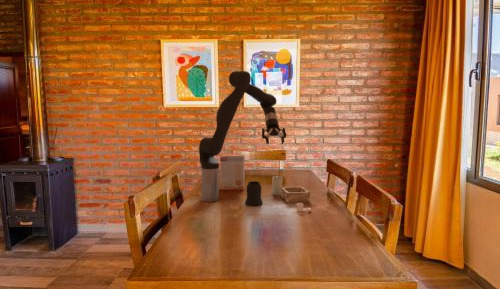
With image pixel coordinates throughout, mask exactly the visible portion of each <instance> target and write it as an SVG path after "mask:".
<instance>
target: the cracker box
mask: <svg viewBox="0 0 500 289" xmlns="http://www.w3.org/2000/svg"><path fill="white" fill-rule="evenodd" d="M219 160H220V161H219V162H220V163H219V184H220V191H242V192H243V191H244V190H245V186H246V185H245V182H246V181H245V178H246V177H245V155H244V154H221V155H220V159H219Z"/></svg>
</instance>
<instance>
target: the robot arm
mask: <svg viewBox="0 0 500 289" xmlns="http://www.w3.org/2000/svg"><path fill="white" fill-rule="evenodd" d="M251 79H252V78H251V73H250V72H249V71H246V70H236V71H232V72H231V73H230V74H229V76H228V82H229V85H230V86H231V87H233V88H234V89H233V91H231V93H230V94H228V95H227V96H226V97H225V98H224V99H223V100H222V102H221V104H220V105H219V107H218V109H217V111H216V115H215V119H216V128H215V131H214V134H213V135H212V137H207V136H206V137H203V138H202V139H201V140H200V142H199V146H198V152H199V153H198V154H199V155H198V156H199V162H200V166H201V183H200V189H201V190H200V194H201V197H200V198H201V199H200V201H202V202H208V203H209V202H210V203H213V202H216V201H217V202H218V201H219V200H220V163H219V161H217V159H216V158H215V156H218V155H220V153H221V152H222V150H223V146H224V143H225V140H226V136H227V134H228V131H229V130H230V127H231V124H232V122H233V120H234V117H235V115H236V113H237V110H238V108H239V105H240V103H241V101H242V99H243V97H244V95H245V94H247V95H248V96H250V97H252V98H253V99H254V100H255V101H256V102H258V103H259V104H260V107H261V108H262V111H263V113H264V122H265V123H264V124H265V127H266V129H265V128H262V129H261V138H262V140H263V139H264V140H265V144H267V145H269V144H270V141H269V139H270V137H278V138H279V139H280V141H281V145H284V143H285V139H286V138H287V132H286V128H285V127H282V128H280V125H279V119H278V116H277V111H276V109H275V107H274V106H275V105H276V104H277V98H276V97H275V95H273V94H271V93H268V92H266V91H264V90H263V89H261V88H260V87H258V86H256V85H254V84H252V83H251V81H252V80H251ZM265 133H266V135H265Z"/></svg>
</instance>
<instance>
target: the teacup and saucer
mask: <svg viewBox="0 0 500 289" xmlns="http://www.w3.org/2000/svg"><path fill="white" fill-rule="evenodd" d="M293 207H294V208H292V209H291V212H292V213H294V214H297V213H298V214H300V215H304V214H305V215H306V214H307V213H309V212H311V210H312V208H310V207H304V203H294V206H293ZM296 211H297V212H296ZM305 212H306V213H305Z"/></svg>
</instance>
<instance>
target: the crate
mask: <svg viewBox="0 0 500 289" xmlns="http://www.w3.org/2000/svg"><path fill="white" fill-rule="evenodd" d="M280 198H281V199H282V200H283V201H284V202H285V203H286V204H297V203H303V204H305V203H306V204H307V202H310V201H311V191H309V190H308V189H306V188H305V187H304V186H282V187H281V195H280Z"/></svg>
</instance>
